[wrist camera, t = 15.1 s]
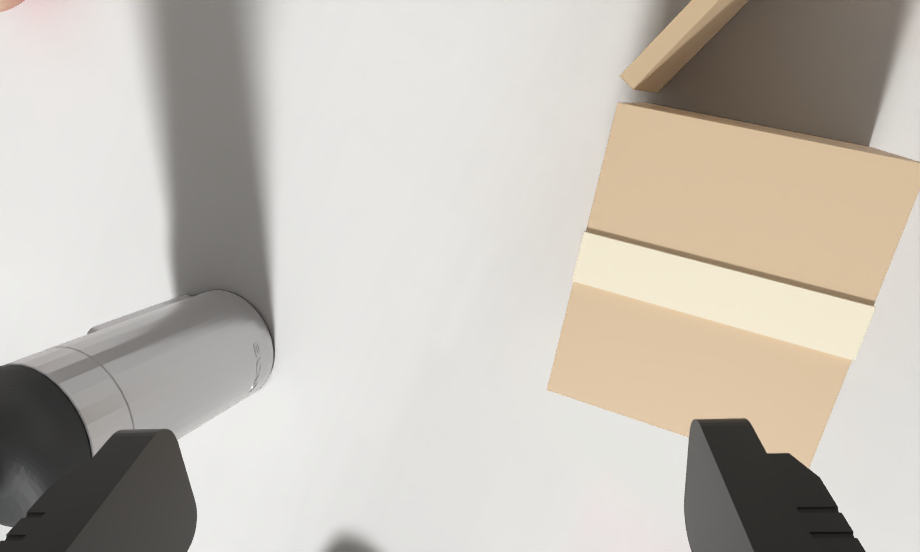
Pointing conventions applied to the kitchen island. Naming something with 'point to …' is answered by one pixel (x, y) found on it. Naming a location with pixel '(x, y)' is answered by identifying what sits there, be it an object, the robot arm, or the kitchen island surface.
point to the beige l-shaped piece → (679, 43)
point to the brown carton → (729, 273)
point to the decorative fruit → (9, 4)
